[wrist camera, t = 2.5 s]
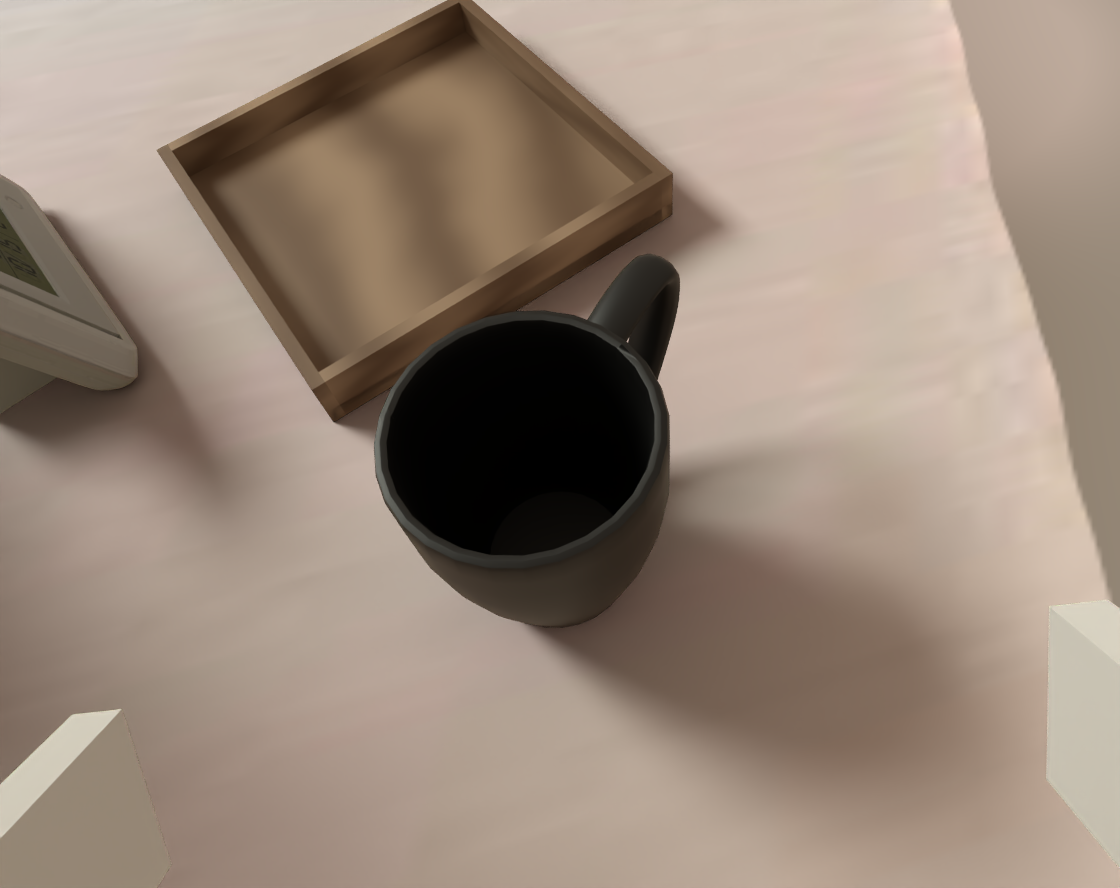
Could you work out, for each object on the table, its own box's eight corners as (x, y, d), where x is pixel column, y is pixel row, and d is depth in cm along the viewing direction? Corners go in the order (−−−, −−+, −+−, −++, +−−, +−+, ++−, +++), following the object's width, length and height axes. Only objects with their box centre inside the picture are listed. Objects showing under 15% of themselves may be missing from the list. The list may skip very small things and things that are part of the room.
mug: (761, 448, 32) (794, 290, 24) (586, 713, 28) (553, 633, 20) (586, 358, 35) (562, 189, 27) (406, 586, 31) (310, 470, 23)
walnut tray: (333, 422, 35) (311, 390, 33) (182, 188, 43) (156, 150, 41) (672, 214, 38) (672, 173, 36) (472, 34, 46) (462, -8, 44)
